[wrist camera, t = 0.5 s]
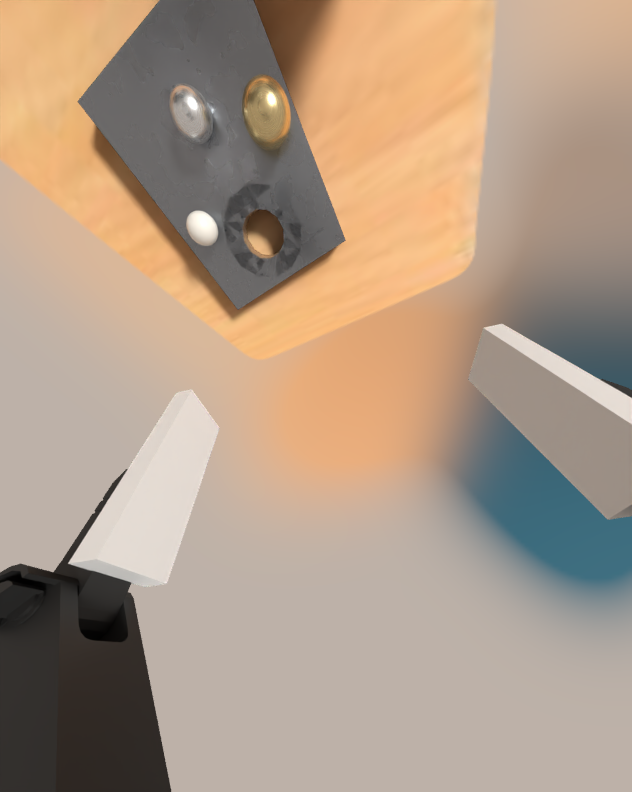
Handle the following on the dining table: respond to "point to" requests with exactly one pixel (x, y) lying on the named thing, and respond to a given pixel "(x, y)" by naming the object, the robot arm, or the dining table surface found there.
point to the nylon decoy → (202, 228)
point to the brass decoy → (266, 112)
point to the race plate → (214, 141)
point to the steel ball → (191, 113)
